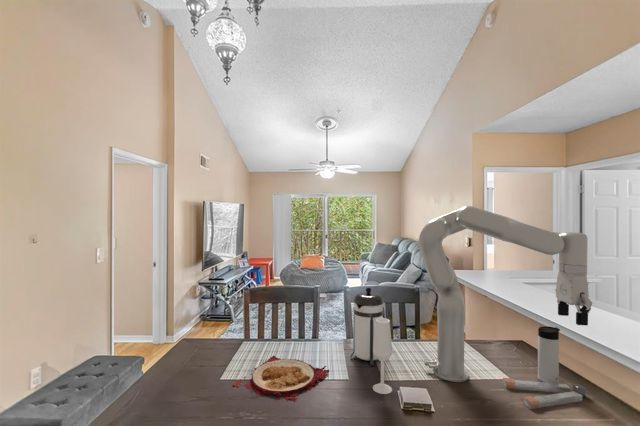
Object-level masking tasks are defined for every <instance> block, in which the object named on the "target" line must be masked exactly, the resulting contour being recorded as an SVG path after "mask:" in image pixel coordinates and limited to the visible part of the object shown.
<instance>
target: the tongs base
mask: <svg viewBox="0 0 640 426" xmlns="http://www.w3.org/2000/svg"><path fill="white" fill-rule="evenodd" d="M502 385H503V386H504V388H505V389H506V390H507V389H509V390H522V391H523V390H525V391H534V392H536V391H537V392H543V393H544V392H546V393H555V394H558V393H565V392H572V391H576V392H578V393H579V394H581V395H582V399H586V398H587V387H585V386H583V385H581V384H577V383H576V384H575V383H574V384H572V391H571V387H570V386H569V385H568V384H567V383H559V384H557V383H545V382H539V381H532V380H531V381H530V380H521V379H513V378H511V377H502Z"/></svg>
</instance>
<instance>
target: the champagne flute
mask: <svg viewBox="0 0 640 426" xmlns="http://www.w3.org/2000/svg"><path fill="white" fill-rule="evenodd" d="M391 332H392V331H391V322H390V319H389V318H386V317H385V318H378V319H376V324H375V334H374V344H373V353H374V355H375V356H376V357H377V358H378V359H377V360H378V361H379V362H380V382H379V383H375V384H374V385H373V386H372V389H373V391H374V392H376V393H378V394H380V395H387V394H390V393H392V392H393V388H392V386H391V385H389V384H386V383H385V362H386V361H388V360H389V359H390V358H391V357H392V355H393V343H392V335H391V334H392V333H391Z"/></svg>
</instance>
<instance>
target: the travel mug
mask: <svg viewBox="0 0 640 426" xmlns="http://www.w3.org/2000/svg"><path fill="white" fill-rule="evenodd" d="M560 331H561V329H560V328H559V327H556V326H555V327H553V326H548V325H547V326H546V325H545V326H540V327H538V330H537V382H545V383H557V384H560V383H559V381H560V379H559V375H560V373H559V372H560V369H559V368H560V363H559V362H560V356H559V355H560Z"/></svg>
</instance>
